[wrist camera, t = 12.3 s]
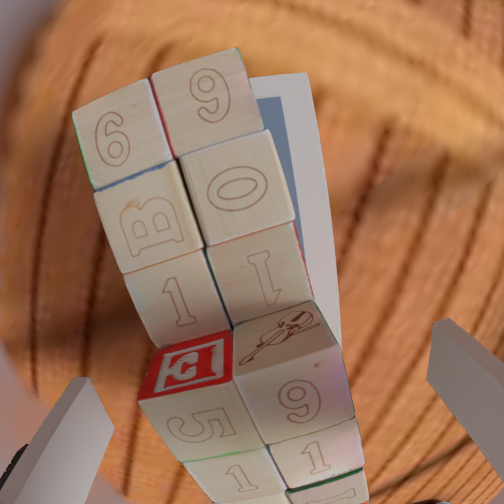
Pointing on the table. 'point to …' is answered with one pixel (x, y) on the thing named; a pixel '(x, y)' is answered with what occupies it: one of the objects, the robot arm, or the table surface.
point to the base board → (303, 180)
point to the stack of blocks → (222, 288)
